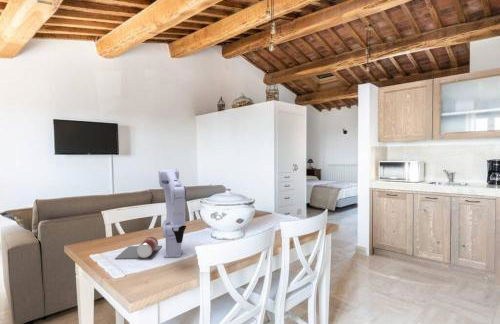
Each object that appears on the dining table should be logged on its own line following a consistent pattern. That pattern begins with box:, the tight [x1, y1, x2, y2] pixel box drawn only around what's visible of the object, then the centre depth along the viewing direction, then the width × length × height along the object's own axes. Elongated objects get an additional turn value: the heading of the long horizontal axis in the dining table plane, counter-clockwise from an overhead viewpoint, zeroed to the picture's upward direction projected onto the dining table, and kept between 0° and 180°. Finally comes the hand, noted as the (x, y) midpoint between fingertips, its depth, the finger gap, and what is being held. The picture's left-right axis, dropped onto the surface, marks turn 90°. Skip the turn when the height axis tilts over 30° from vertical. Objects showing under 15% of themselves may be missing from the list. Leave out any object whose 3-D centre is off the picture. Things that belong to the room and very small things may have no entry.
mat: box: [114, 245, 163, 260], centre depth 151 cm, size 18×18×1 cm
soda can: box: [137, 236, 159, 258], centre depth 147 cm, size 7×7×12 cm
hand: (179, 242), depth 133 cm, fingers closed
